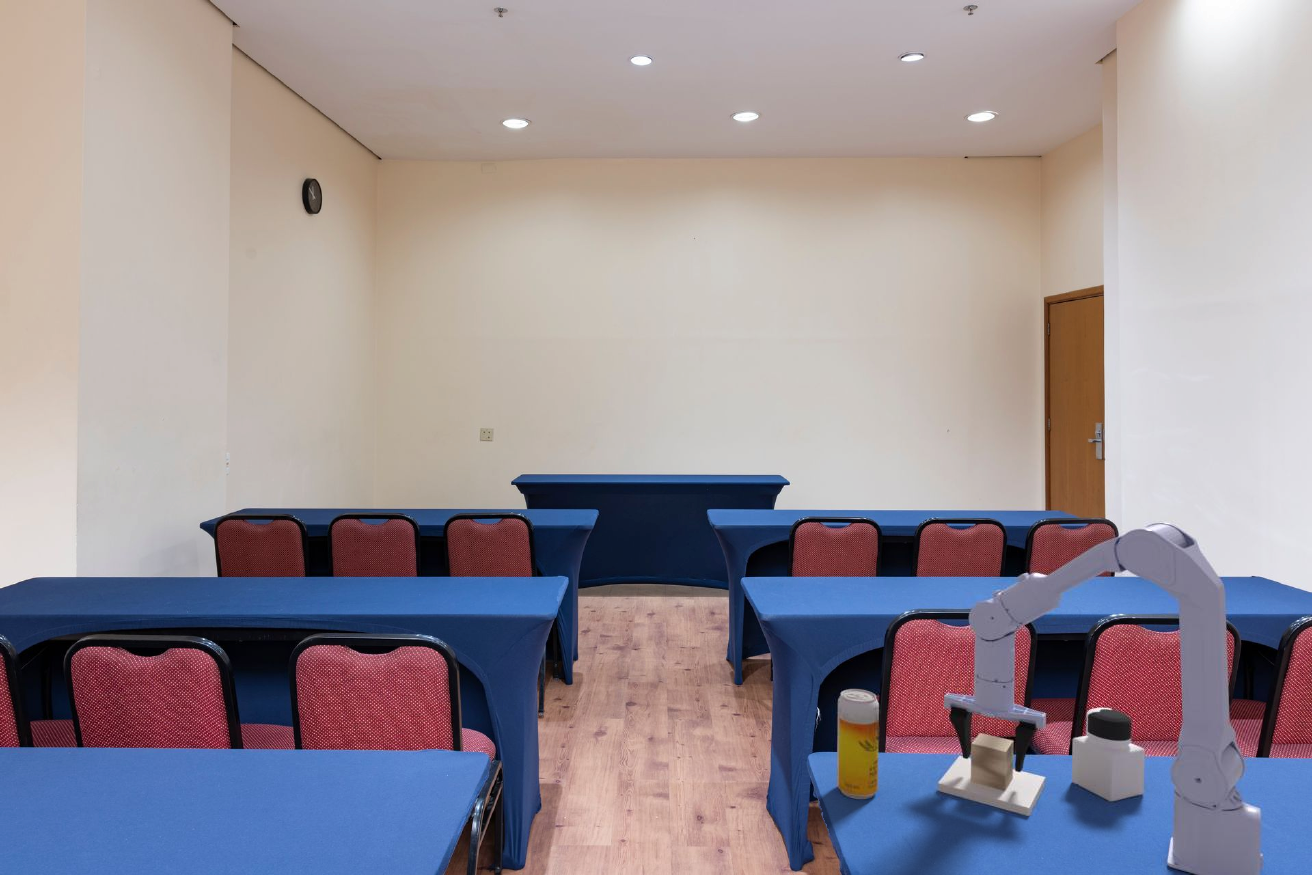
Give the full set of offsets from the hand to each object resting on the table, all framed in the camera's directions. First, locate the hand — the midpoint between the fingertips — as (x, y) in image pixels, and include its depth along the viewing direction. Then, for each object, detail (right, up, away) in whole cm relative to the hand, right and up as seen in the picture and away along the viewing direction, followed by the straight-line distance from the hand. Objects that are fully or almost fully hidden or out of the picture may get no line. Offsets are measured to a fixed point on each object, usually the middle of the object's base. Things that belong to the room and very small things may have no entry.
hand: (992, 762), depth 124 cm
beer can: (-21, -4, -1) cm, 22 cm away
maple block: (0, -3, 0) cm, 3 cm away
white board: (0, -4, 0) cm, 4 cm away
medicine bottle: (+18, -4, 0) cm, 18 cm away
